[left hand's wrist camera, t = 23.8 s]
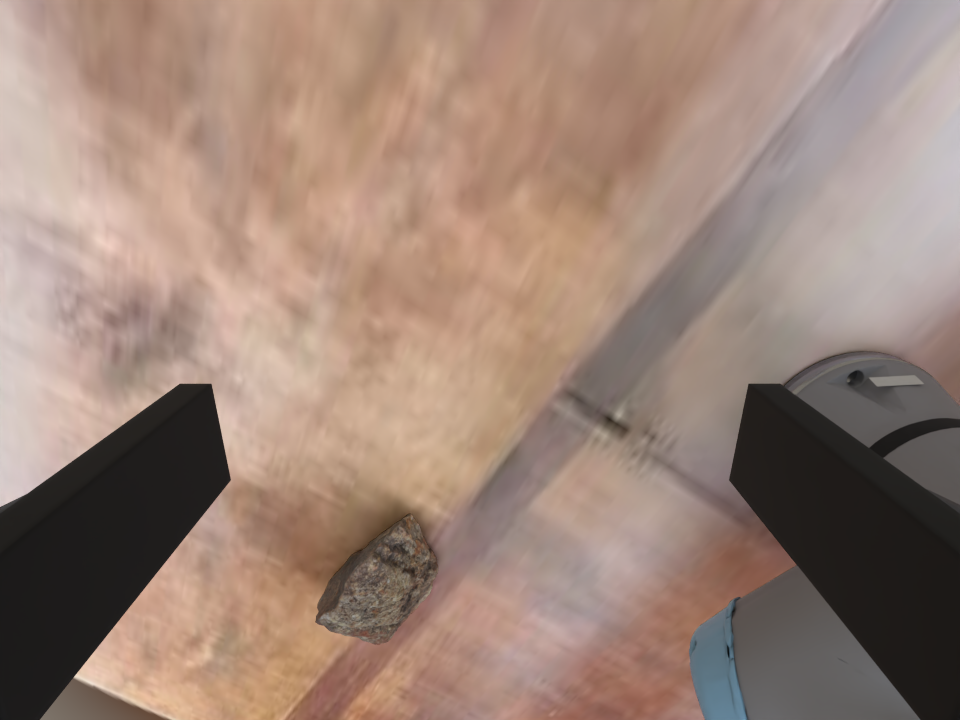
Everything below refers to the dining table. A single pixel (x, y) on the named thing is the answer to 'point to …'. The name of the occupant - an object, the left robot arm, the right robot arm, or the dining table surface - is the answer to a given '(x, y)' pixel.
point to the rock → (380, 585)
